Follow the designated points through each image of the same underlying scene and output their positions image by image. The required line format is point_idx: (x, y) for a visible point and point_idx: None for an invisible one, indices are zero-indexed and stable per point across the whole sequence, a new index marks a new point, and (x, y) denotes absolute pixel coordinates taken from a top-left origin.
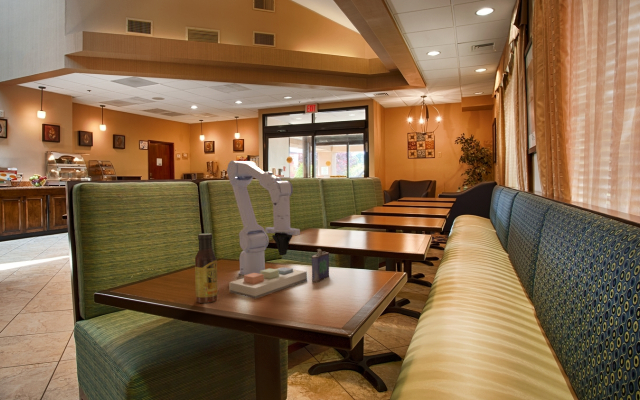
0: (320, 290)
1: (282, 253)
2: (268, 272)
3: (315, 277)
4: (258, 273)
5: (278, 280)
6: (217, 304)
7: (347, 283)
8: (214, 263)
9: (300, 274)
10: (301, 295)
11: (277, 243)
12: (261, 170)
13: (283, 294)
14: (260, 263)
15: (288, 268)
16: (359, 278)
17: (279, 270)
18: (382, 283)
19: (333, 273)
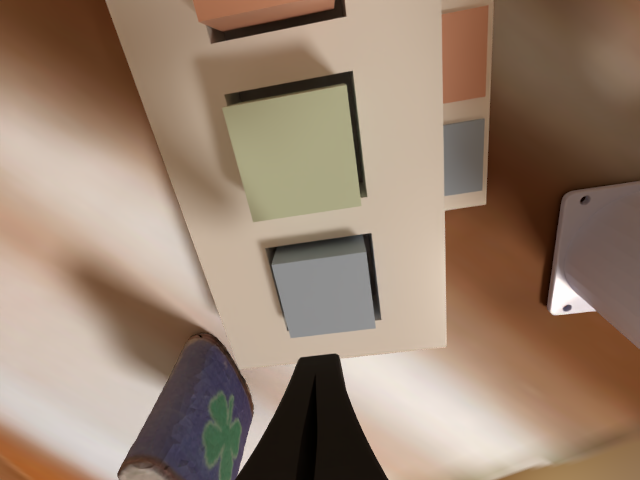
0: (49, 269)
1: (295, 374)
2: (235, 106)
3: (181, 355)
4: (268, 5)
5: (152, 125)
6: None
7: (89, 399)
8: None
9: (225, 321)
10: (11, 148)
11: (336, 465)
12: None
13: (85, 84)
14: (619, 290)
15: (320, 326)
16: None
17: (320, 258)
18: (16, 459)
19: None
